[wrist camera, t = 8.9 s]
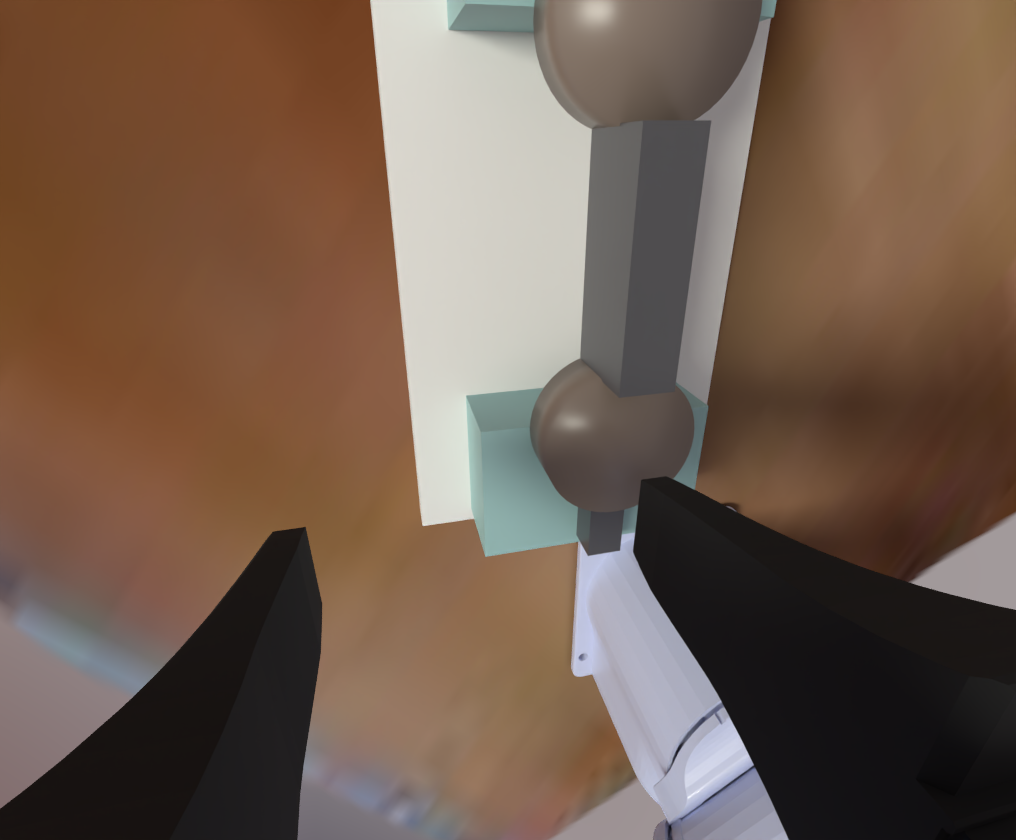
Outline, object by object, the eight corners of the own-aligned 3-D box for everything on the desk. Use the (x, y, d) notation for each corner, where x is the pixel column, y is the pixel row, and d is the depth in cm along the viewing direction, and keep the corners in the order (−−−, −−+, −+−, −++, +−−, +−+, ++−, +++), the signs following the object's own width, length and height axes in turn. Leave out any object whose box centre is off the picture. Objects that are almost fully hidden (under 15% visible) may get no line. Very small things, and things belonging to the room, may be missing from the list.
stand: (682, 474, 25) (732, 526, 22) (420, 511, 23) (430, 576, 19) (783, -187, 15) (904, -287, 12) (346, -243, 13) (338, -388, 10)
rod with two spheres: (651, 522, 21) (693, 576, 18) (528, 542, 20) (553, 602, 17) (750, -232, 12) (859, -342, 9) (535, -263, 11) (589, -396, 8)
